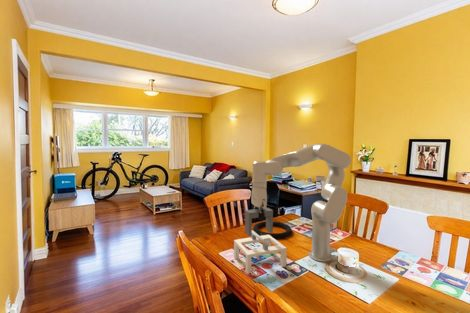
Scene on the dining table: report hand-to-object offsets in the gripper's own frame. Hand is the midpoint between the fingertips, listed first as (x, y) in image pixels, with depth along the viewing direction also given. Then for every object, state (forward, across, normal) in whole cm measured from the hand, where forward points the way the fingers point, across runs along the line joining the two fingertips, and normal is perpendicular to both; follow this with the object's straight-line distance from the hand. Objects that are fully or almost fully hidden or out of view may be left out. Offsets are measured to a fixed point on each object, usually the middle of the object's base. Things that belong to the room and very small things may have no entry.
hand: (259, 217), depth 132 cm
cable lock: (+25, -35, +27) cm, 51 cm away
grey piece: (+8, 0, 0) cm, 8 cm away
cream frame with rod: (+24, 0, 0) cm, 24 cm away
